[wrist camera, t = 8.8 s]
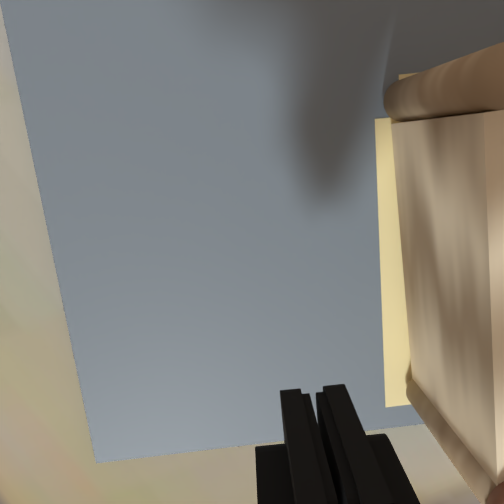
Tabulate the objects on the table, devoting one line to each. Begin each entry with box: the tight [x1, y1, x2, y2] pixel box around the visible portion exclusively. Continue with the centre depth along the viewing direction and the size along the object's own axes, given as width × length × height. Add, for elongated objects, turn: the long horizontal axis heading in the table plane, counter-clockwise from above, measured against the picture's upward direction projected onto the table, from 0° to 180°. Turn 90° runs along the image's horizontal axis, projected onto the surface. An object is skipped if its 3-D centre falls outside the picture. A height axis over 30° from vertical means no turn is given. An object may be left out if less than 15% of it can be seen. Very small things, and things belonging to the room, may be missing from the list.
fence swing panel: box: [383, 42, 504, 504], centre depth 14 cm, size 13×2×7 cm, turn 9°
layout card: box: [0, 0, 504, 463], centre depth 17 cm, size 25×18×1 cm
